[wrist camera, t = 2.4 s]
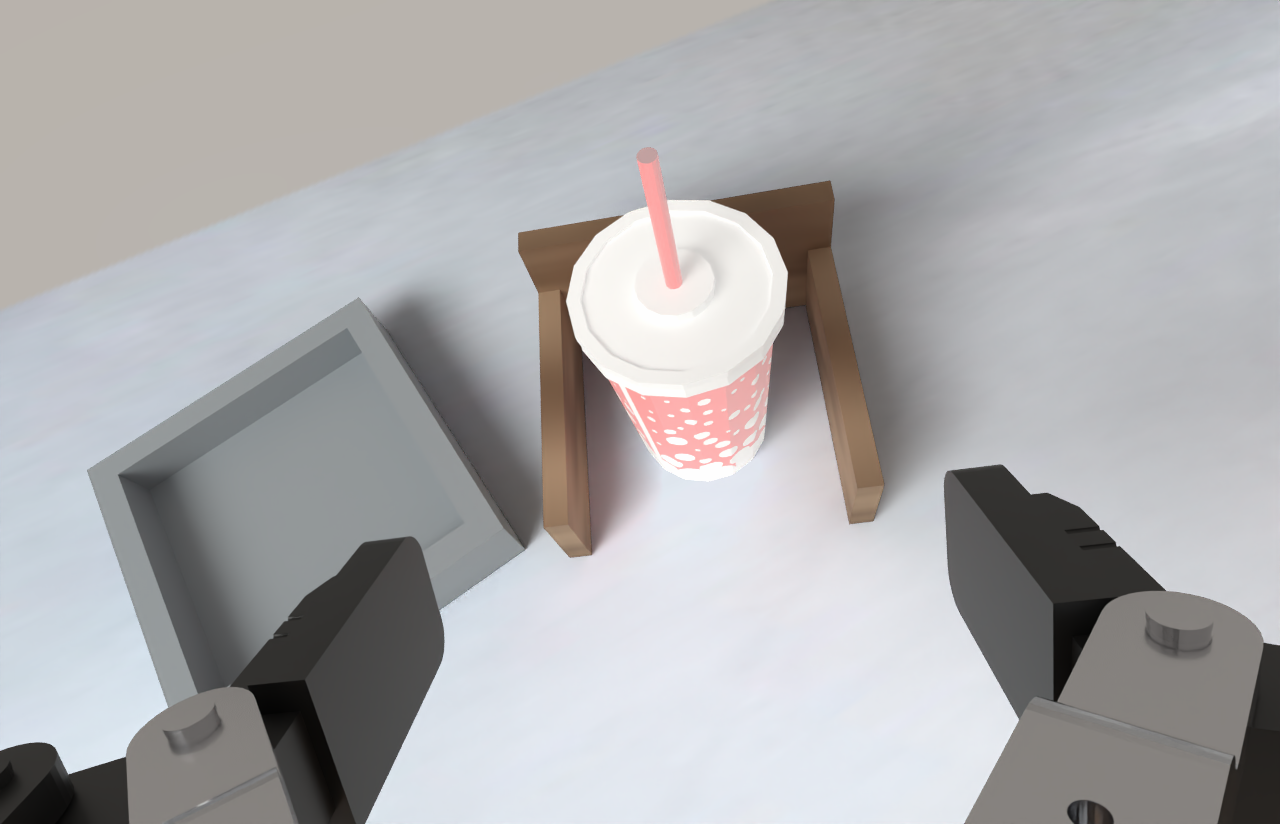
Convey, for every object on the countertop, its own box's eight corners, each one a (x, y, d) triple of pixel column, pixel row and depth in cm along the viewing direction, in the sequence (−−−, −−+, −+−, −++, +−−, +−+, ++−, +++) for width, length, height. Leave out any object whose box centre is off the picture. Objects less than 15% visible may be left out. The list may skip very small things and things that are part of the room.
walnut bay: (561, 325, 33) (518, 232, 28) (822, 284, 32) (830, 180, 26) (569, 557, 29) (520, 501, 23) (873, 520, 27) (894, 452, 22)
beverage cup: (821, 410, 29) (848, 124, 17) (714, 535, 28) (658, 322, 16) (695, 325, 32) (637, 20, 20) (590, 436, 31) (457, 184, 18)
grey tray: (134, 492, 33) (87, 470, 31) (386, 330, 34) (358, 297, 32) (231, 755, 27) (183, 751, 25) (525, 549, 29) (503, 528, 27)
